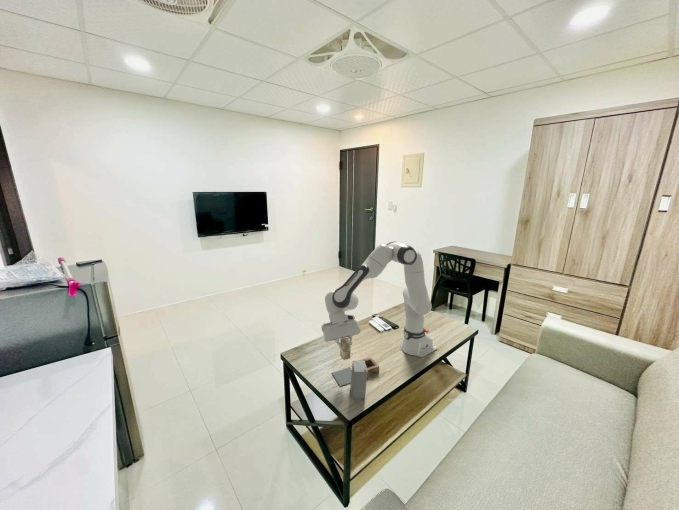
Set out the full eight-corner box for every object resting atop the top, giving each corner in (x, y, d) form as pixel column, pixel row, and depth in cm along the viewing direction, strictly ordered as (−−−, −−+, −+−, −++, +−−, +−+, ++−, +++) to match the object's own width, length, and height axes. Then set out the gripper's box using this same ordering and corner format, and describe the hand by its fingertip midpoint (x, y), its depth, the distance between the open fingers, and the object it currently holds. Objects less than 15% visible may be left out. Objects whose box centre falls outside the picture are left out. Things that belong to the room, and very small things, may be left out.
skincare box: (350, 387, 138) (350, 360, 134) (363, 386, 139) (364, 359, 135) (352, 399, 130) (352, 371, 126) (366, 398, 130) (368, 370, 126)
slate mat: (349, 368, 152) (349, 367, 152) (359, 380, 143) (359, 379, 142) (331, 373, 148) (331, 372, 148) (340, 386, 138) (340, 385, 138)
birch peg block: (346, 354, 145) (347, 337, 142) (350, 358, 141) (350, 341, 139) (340, 355, 143) (340, 339, 141) (343, 360, 140) (343, 343, 137)
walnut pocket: (370, 363, 157) (370, 357, 156) (379, 372, 149) (379, 366, 148) (356, 367, 153) (357, 361, 152) (364, 377, 145) (365, 370, 144)
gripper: (321, 322, 139) (329, 349, 133) (356, 315, 148) (365, 340, 142) (319, 326, 144) (325, 352, 138) (352, 319, 153) (360, 343, 147)
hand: (346, 346), depth 140 cm, fingers closed on birch peg block, 4 cm apart
